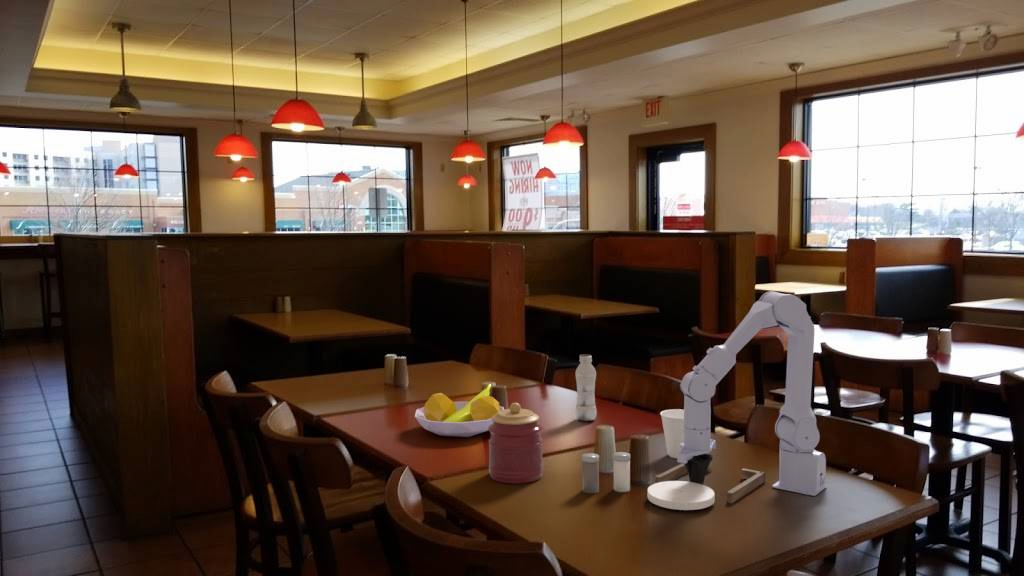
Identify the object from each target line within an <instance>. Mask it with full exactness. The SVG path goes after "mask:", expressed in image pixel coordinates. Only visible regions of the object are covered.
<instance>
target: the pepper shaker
mask: <svg viewBox="0 0 1024 576" xmlns="http://www.w3.org/2000/svg"><path fill="white" fill-rule="evenodd" d="M581 460H582V492H583V493H586V494H592V495H593V494H597V493H599V492H600V487H599V486H600V480H599V479H600V478H599V477H600V473H599V472H600V464H599V463H600V455H599V454H597V453H593V452H592V453H591V452H590V453H589V452H587V453H583V454H581Z"/></svg>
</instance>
